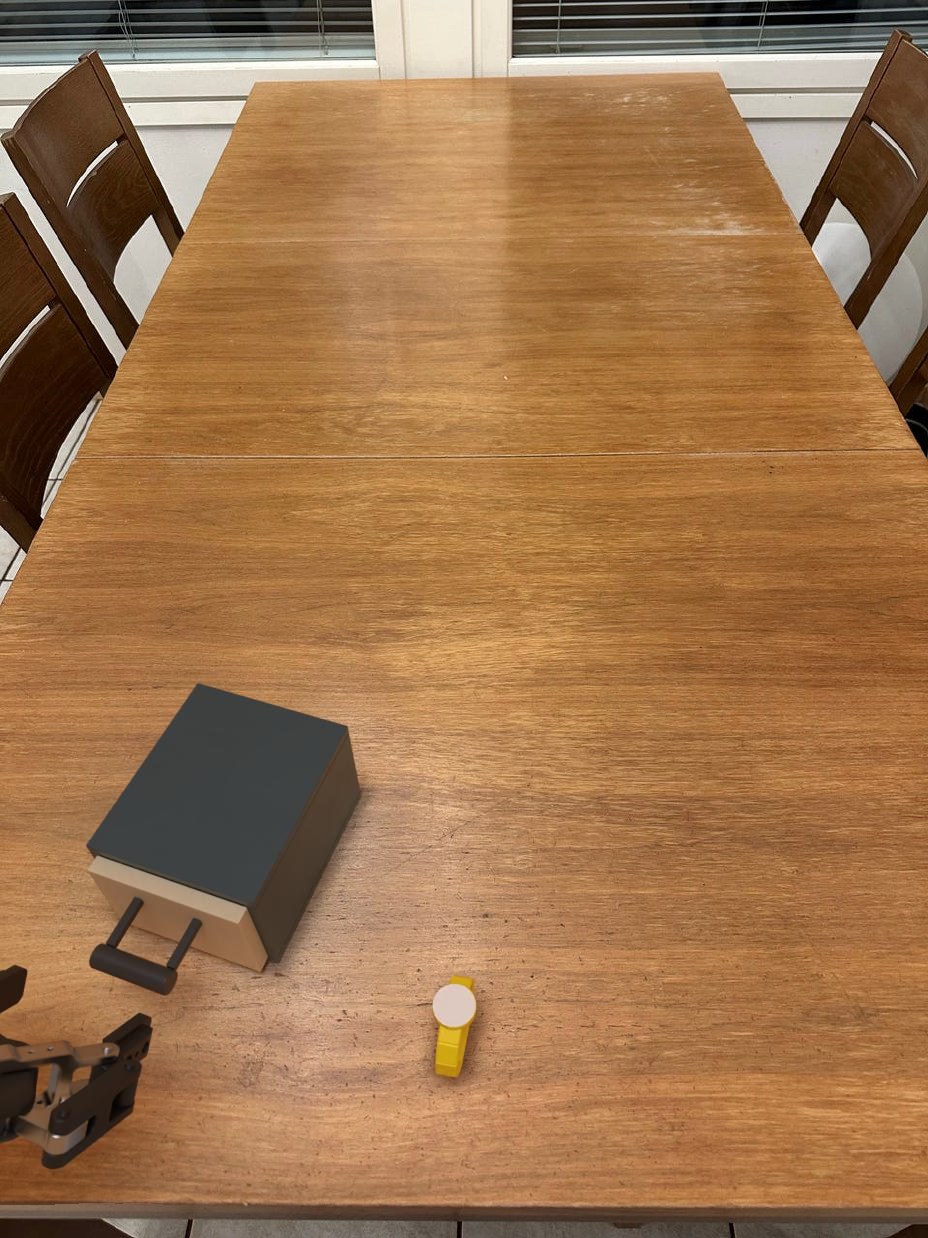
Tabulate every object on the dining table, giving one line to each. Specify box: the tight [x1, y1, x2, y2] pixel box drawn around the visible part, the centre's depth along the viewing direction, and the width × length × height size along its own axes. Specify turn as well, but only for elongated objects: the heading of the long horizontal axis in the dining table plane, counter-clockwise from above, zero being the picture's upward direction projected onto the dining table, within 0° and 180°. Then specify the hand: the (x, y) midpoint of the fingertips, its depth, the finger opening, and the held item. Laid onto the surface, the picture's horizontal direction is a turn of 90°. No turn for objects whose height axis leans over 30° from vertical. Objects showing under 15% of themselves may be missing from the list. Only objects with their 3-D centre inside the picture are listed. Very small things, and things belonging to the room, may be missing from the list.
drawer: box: [87, 856, 268, 997], centre depth 67 cm, size 18×11×8 cm, turn 160°
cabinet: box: [85, 682, 362, 965], centre depth 70 cm, size 15×13×10 cm
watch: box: [431, 974, 478, 1078], centre depth 61 cm, size 6×3×6 cm, turn 169°
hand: (81, 1005), depth 55 cm, fingers open, 8 cm apart
